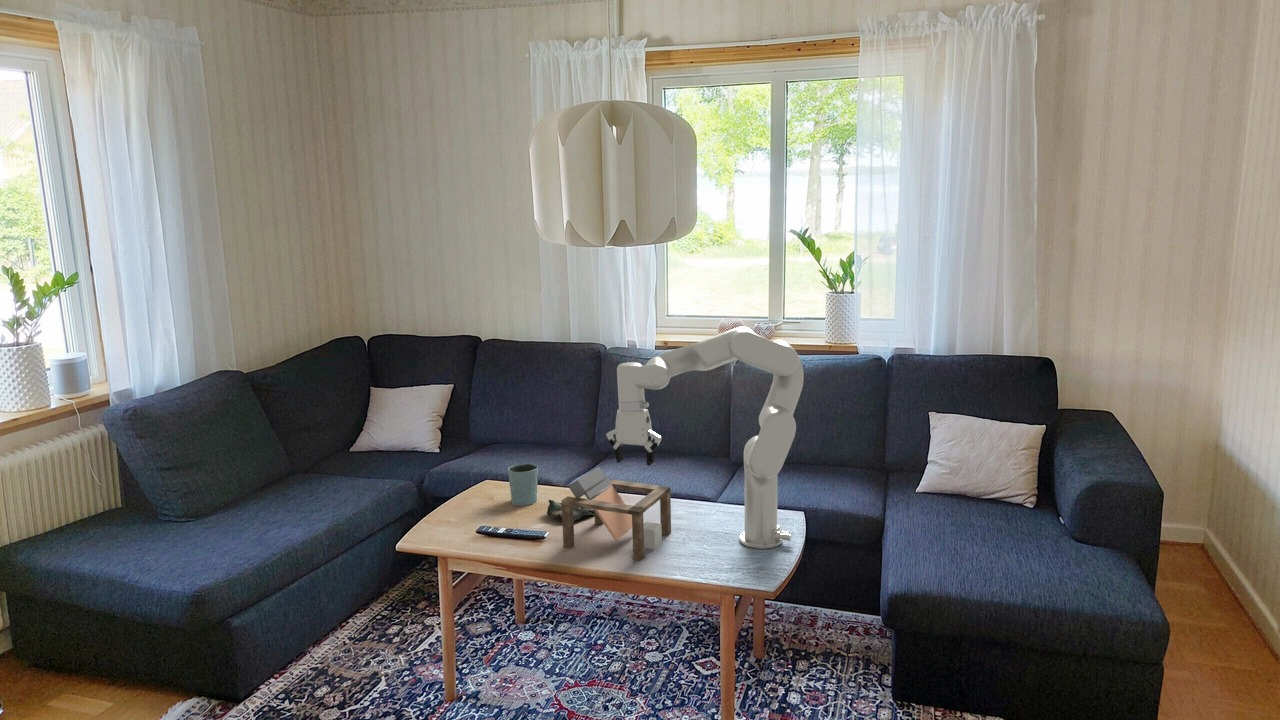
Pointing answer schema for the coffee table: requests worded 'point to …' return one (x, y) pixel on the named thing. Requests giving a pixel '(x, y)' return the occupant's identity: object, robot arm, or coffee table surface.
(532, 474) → the teal cup
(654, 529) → the light gray block
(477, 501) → the coffee table surface
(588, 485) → the trapdoor
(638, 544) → the miniature wooden side table
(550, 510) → the decorative rock
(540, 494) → the coffee table surface
